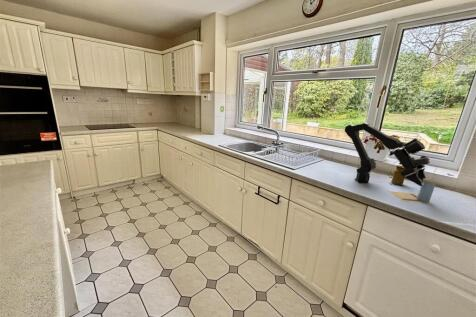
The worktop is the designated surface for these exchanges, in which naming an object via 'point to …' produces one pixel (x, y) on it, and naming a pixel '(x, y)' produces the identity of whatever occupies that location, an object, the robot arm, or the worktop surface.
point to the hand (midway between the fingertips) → (423, 184)
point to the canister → (426, 190)
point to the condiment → (398, 177)
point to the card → (407, 197)
